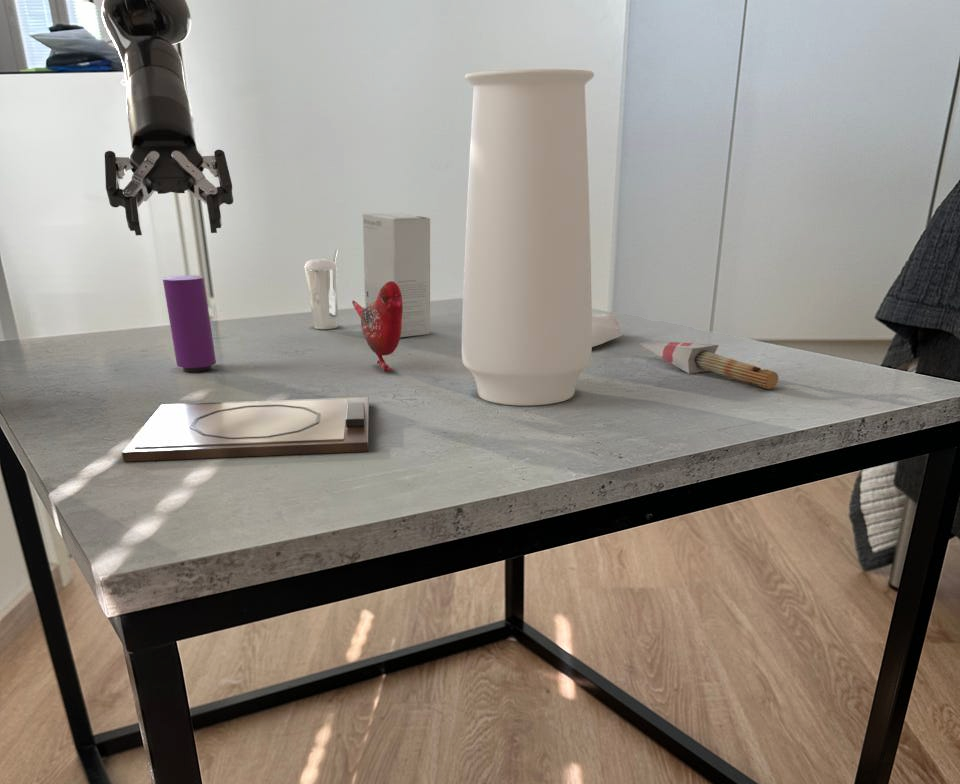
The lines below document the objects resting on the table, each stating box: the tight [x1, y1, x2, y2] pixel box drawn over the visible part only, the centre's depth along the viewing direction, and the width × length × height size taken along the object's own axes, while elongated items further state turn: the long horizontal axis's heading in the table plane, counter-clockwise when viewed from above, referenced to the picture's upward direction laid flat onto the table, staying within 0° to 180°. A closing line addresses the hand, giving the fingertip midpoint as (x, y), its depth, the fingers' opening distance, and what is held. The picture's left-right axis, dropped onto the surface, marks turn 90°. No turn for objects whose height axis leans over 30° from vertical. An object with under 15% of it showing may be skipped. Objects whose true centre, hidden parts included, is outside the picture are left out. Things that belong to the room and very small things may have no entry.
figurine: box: [592, 310, 624, 348], centre depth 116 cm, size 20×18×16 cm
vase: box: [461, 68, 595, 407], centre depth 88 cm, size 13×13×28 cm
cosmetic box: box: [362, 212, 431, 338], centre depth 123 cm, size 8×6×15 cm
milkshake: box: [303, 249, 339, 330], centre depth 129 cm, size 4×5×10 cm
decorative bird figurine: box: [351, 281, 403, 372], centre depth 105 cm, size 3×18×10 cm, turn 24°
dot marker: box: [162, 274, 217, 373], centre depth 105 cm, size 4×4×10 cm
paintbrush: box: [639, 340, 779, 390], centre depth 102 cm, size 4×3×20 cm
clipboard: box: [121, 396, 370, 463], centre depth 83 cm, size 20×16×2 cm
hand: (176, 229), depth 108 cm, fingers open, 8 cm apart
